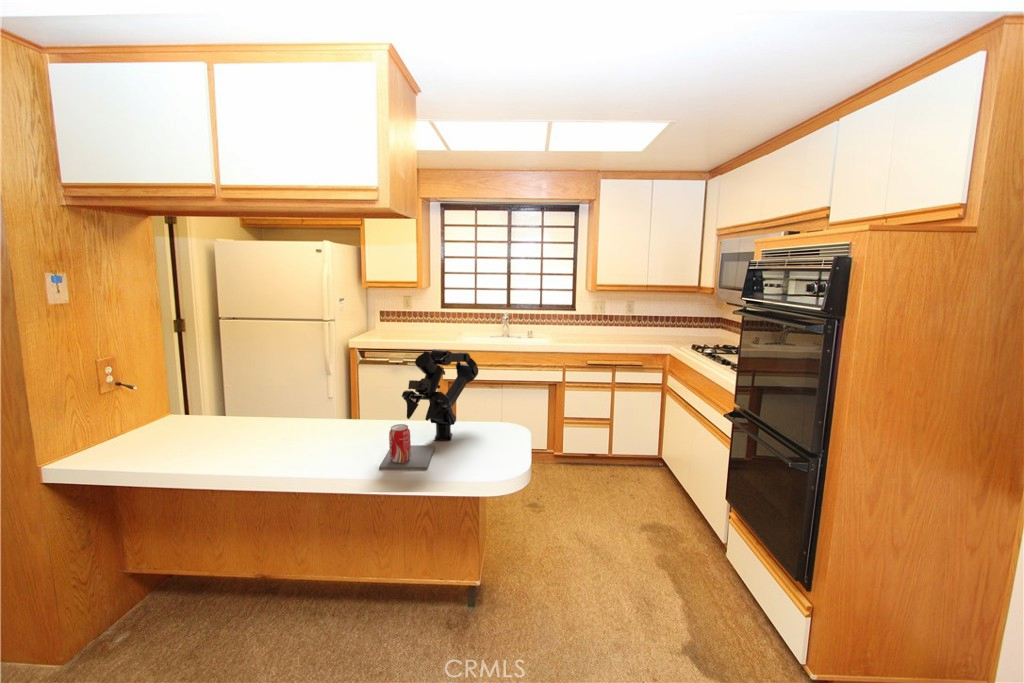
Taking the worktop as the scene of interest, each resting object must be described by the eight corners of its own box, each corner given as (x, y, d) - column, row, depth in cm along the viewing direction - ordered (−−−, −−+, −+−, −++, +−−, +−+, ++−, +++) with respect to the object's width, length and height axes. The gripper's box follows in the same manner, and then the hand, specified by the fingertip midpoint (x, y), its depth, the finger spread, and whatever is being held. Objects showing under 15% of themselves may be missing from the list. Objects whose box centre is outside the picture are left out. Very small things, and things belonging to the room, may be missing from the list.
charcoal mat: (391, 447, 168) (391, 445, 168) (434, 447, 169) (434, 445, 168) (379, 469, 150) (378, 466, 150) (427, 469, 151) (427, 466, 151)
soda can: (387, 458, 157) (386, 425, 155) (408, 454, 160) (407, 422, 158) (392, 466, 151) (391, 432, 149) (413, 462, 154) (412, 428, 152)
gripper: (399, 369, 167) (383, 408, 160) (437, 369, 156) (421, 411, 149) (419, 383, 174) (404, 421, 168) (455, 384, 164) (441, 424, 157)
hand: (417, 419), depth 160 cm, fingers open, 9 cm apart
